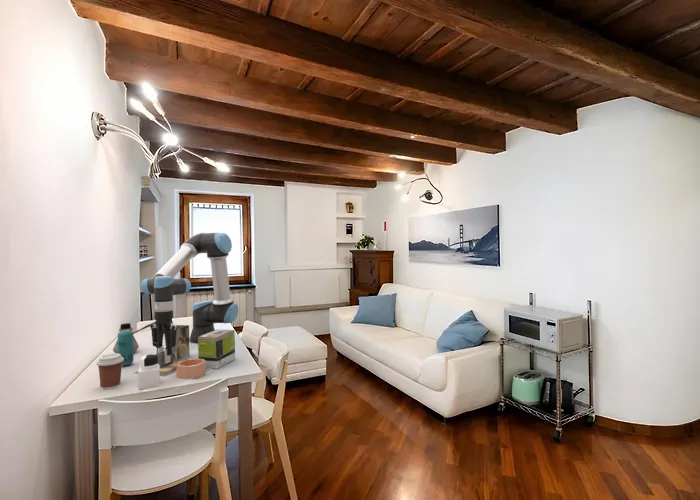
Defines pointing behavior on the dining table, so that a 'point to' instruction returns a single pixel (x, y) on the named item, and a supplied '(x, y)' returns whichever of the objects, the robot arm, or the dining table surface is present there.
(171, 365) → the lid
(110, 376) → the coffee cup
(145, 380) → the medicine bottle
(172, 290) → the robot arm
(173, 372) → the mat
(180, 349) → the coffee box
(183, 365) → the bowl
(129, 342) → the beverage bottle
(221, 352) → the tea box
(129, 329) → the coffee pot
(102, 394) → the dining table surface
